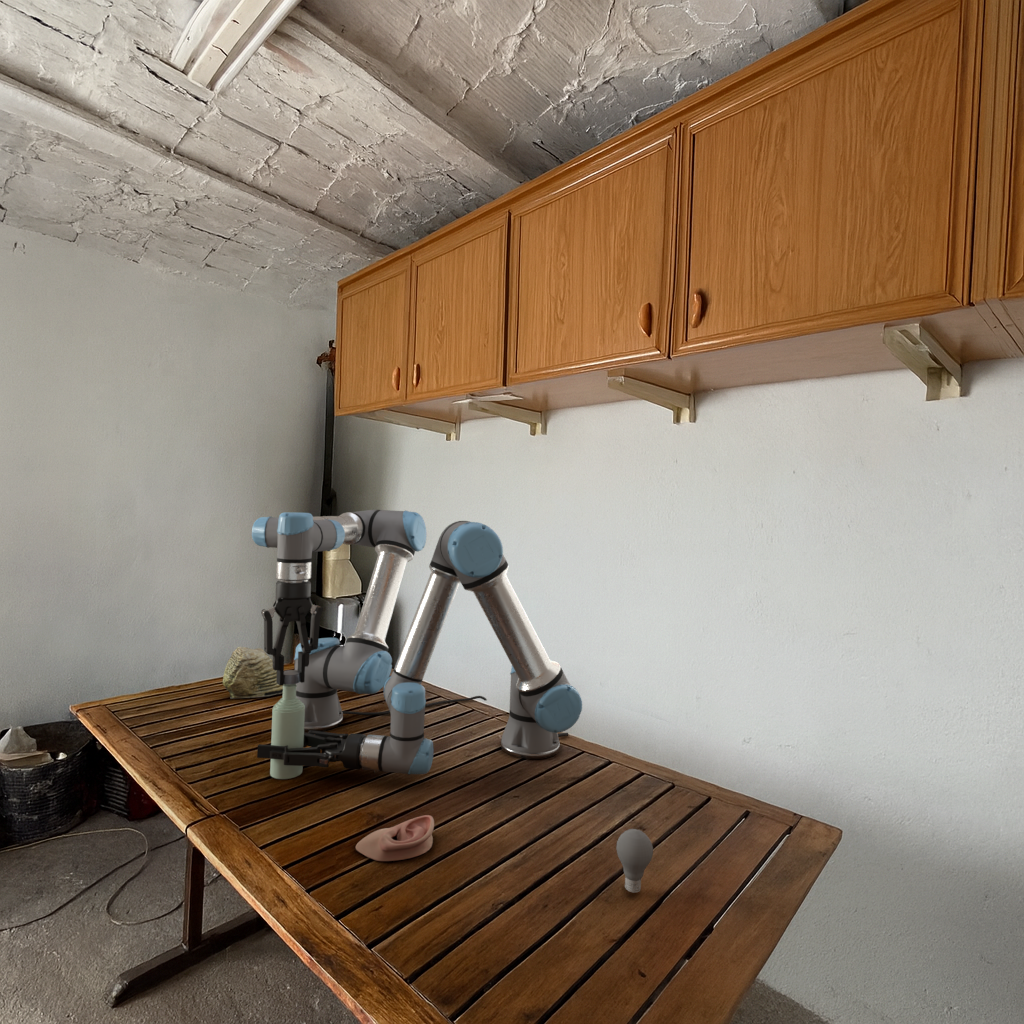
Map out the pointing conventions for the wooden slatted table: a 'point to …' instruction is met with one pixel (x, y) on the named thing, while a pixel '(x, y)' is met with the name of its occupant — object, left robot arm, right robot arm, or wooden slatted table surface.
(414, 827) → the anatomical model
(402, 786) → the wooden slatted table surface
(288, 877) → the wooden slatted table surface
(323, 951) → the wooden slatted table surface
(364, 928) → the wooden slatted table surface
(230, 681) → the fossil
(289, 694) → the bottle
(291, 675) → the cap
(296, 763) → the right robot arm
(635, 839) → the light bulb
